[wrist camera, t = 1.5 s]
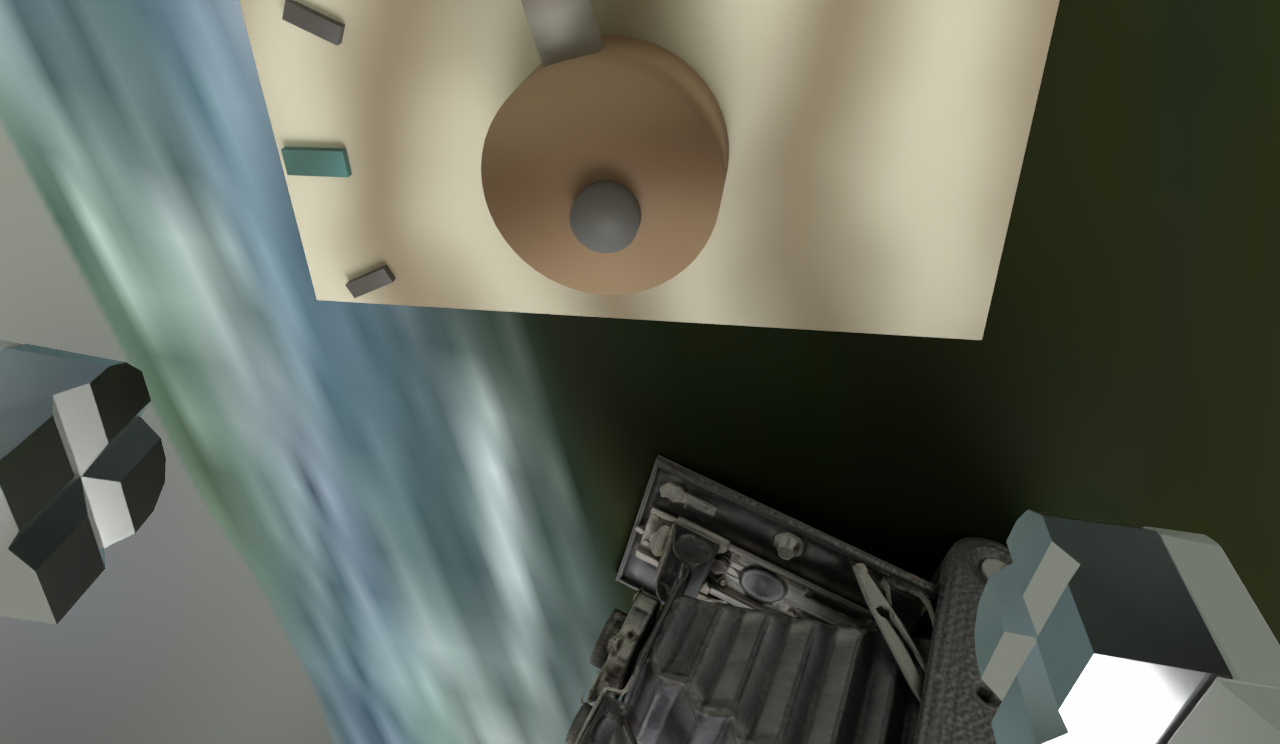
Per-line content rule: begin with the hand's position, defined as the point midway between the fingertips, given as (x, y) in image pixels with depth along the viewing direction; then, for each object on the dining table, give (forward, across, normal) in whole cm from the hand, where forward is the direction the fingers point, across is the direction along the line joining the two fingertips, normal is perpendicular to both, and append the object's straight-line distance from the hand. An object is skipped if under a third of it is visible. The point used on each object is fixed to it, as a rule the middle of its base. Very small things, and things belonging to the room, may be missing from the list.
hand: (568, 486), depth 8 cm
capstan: (+20, +3, +1) cm, 21 cm away
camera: (+22, -8, +23) cm, 33 cm away
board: (+22, +2, +4) cm, 22 cm away
